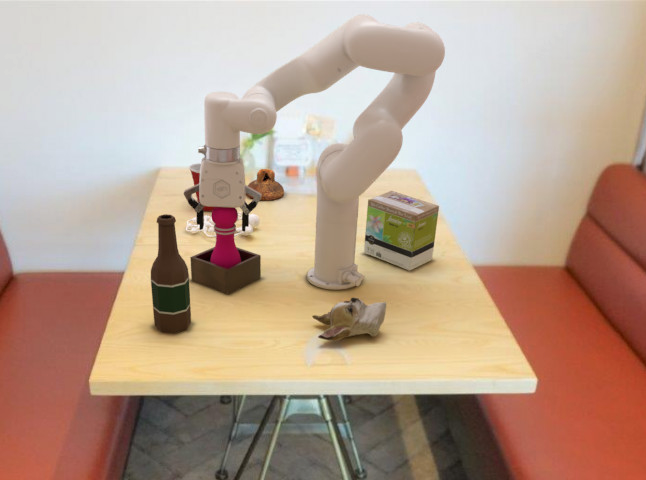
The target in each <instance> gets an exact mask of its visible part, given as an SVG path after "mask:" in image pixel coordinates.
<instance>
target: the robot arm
mask: <svg viewBox="0 0 646 480" xmlns="http://www.w3.org/2000/svg"><path fill="white" fill-rule="evenodd" d="M445 56H446V47H445V42H444V41H443V39H442V38H441V36H440V35H439V33H437V32H436V31H434V30H433V29H432V28H431V27H430V26H428V25H426V24H425V23H422V22H418V21H417V22H415V21H414V22H410V23H408V24H406V25H404V26H399V25H393V24H388V23H384V22H380V21H378V20H377V19H376V18H375V17H373V16H370V15H369V14H365V13H363V14H357V15H354V16H353V17H350V19H348V20H346V21H345V22H344V23H342V24H341V25H340V26H338V27H337V28H336V29H334V30H333V31H331V32H330V33H329V34H328V35H326V36H325V37H324V38H322V39H321V40H320V41H318V42H317V43H315V44H314V45H313V46H311V47H309V48H308V49H307V50H305V51H304V52H303V53H301V54H300V55H298V56H296V57H294V58H292V59H291V60H289V61H288V62H286V63H285V64H283V65H281V66H279V67H278V68H276V69H274V70H273V71H272V72H270V73H269V74H267V75H266V76H265V77H263V78H262V79H261V80H259V81H258V82H256V83H254V85H252V86H251V87H250V88H249V89H247V91H245V93H244V94H243V95H242V97H241V98H240V97H239V96H238V95H237V94H236V93H233V92H229V91H213V92H210V93H207V94H206V96H205V97H204V100H203V101H204V103H203V106H204V112H203V113H204V145H203V146H198V147H197V148H198V149H197V151H198V153H197V154H201V155H203V157H202V158H201V161H200V163H201V167H200V180H199V184H197V185H195V186H194V185H193V186H191V187H188V188H186V189H184V190H183V195H184V197H185V199H186V201H187V203H188V205H189V206H190V207H191V208H192V209H193V210H194V212H195V213H196V217H197V223H196V225H200V228H199V230H202V229H203V227H204V216H205V211H204V209H203V207H204V206H209V207H232V208H236V209H237V208H240V210H241V211H242V212H241V217H242V220H241V226H242V231H245V228H246V227H248V226H249V215H250V214H251V212H252V211H253V210H254V209H256V207H257V206H258V204H259V202H260V201H261V200H260V199H261V193H259V192H258V191H256V190H254V189H252V188H250V187H249V186H248V184H246V174H245V173H246V172H245V165H244V160H243V159H242V158H241V132H243V133H247V134H252V135H263V134H267V133H269V132H270V131H271V130H272V129H274V127H275V126H276V122H277V118H278V117H277V116H278V115H277V113H278V111H280V110H282V109H283V108H284V107H286V106H287V105H288V104H290V103H292V102H293V101H295V100H297V99H299V98H301V97H303V96H306V95H311V94H318V93H321V92H324V91H326V90H328V89H329V88H331V87H332V86H333V85H335V84H336V83H337V82H339V81H340V80H342V79H343V78H344V77H346V76H347V75H348V74H350V73H352V72H353V71H354V70H356V69H357V68H359V67H362V68H366V69H369V70H370V69H371V70H376V71H380V72H387V73H394V74H393V75H392V77H391V79H390V80H389V82H388V83H387V84H386V85H385V87H384V88H383V89H382V90H381V91H380V93H379V94H378V95H377V96H375V98H374V99H373V100H372V101H371V102H370V104H369V105H368V106H367V107H366V108H365V109H364V110H363V111H362V112H361V113H360V114H359V115H358V116H357V118H356V119H355V121H354V123H353V125H352V137H353V139H352V140H351V141H350V142H348V144H345V143H343V142H336V143H332V144H330V145H328V146H326V148H324V149H323V150H322V151H321V153H320V155H319V157H318V160H317V164H316V213H315V215H316V216H315V235H314V236H315V237H314V238H315V239H314V265H313V267H311V268H310V269H309V270H308V271H307V275H306V277H307V281H308V282H309V284H311V285H313V286H315V287H317V288H321V289H325V290H334V291H336V290H337V291H338V290H340V291H341V290H347V289H350V288H354V287H355V286H356V287H359V286H360V285H361V284H362V281H363V280H364V279H365V275H364V274H362V273H360V272H359V271H358V268H359V267H358V264H357V263H355V261H356V247H357V233H358V220H359V219H358V218H359V206H360V205H359V203H360V197H361V195H363V194H364V193H365V192H366V191H367V190H368V189H370V187H371V186H372V185H373V184H374V183H375V182H376V181H377V180H378V178H379V177H380V176H382V174H383V173H384V172H385V171H386V170H387V169H388V168H389V167H390V165H391V164H393V162H394V161H395V160H396V158H397V157H398V155H400V151H401V150H402V147H403V142H404V141H403V140H404V138H403V137H404V136H403V131H402V130H403V129H404V128H405V127H406V125H407V124H408V123H409V122H410V121H411V119H412V118H413V117H414V116H415V115H416V113H418V111H419V110H420V109H421V108H422V106H423V105H424V104H425V102H426V101H427V99H428V98H429V96H430V94H431V91H432V89H433V86H434V82H435V78H436V72H437V70H438V69H439V68H440V67H441V66H442V64H443V63H444V59H445ZM198 191H199V200H200V201H199V202H198V200H197V199H195V198H194V197H193V194H196V192H198ZM246 193H247V194H249V195H251V196H252V197H254V199H253V198H252V200H251V201H250V202H249V203H248V202H247V201H246Z"/></svg>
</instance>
